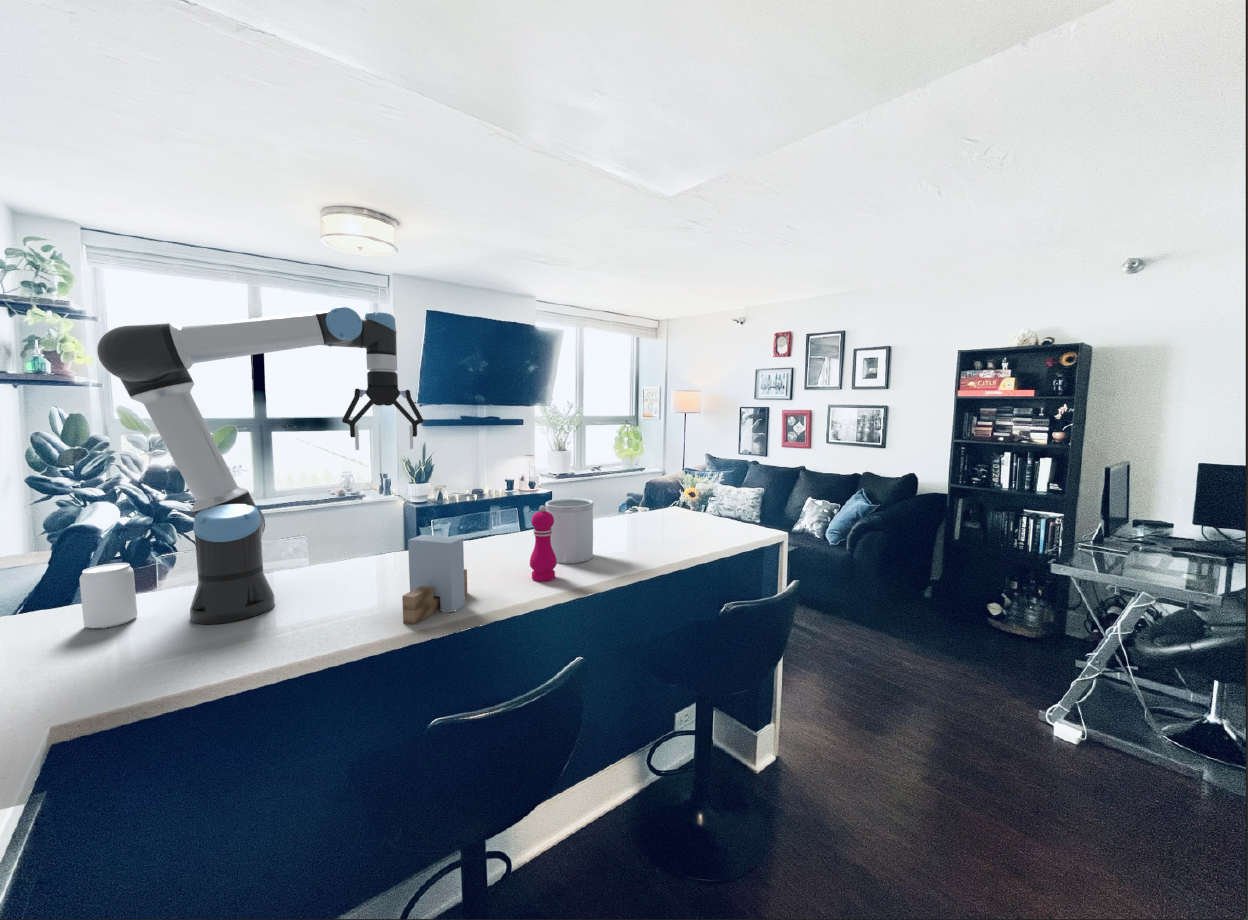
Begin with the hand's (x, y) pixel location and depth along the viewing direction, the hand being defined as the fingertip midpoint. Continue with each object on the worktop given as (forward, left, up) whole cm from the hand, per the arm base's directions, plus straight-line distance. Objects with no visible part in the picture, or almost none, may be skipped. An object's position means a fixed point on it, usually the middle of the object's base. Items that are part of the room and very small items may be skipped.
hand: (385, 449), depth 143 cm
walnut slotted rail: (+10, -34, -35) cm, 49 cm away
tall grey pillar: (+10, -34, -35) cm, 49 cm away
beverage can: (-54, -15, -35) cm, 66 cm away
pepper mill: (+38, -24, -35) cm, 57 cm away
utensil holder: (+51, -8, -35) cm, 62 cm away
